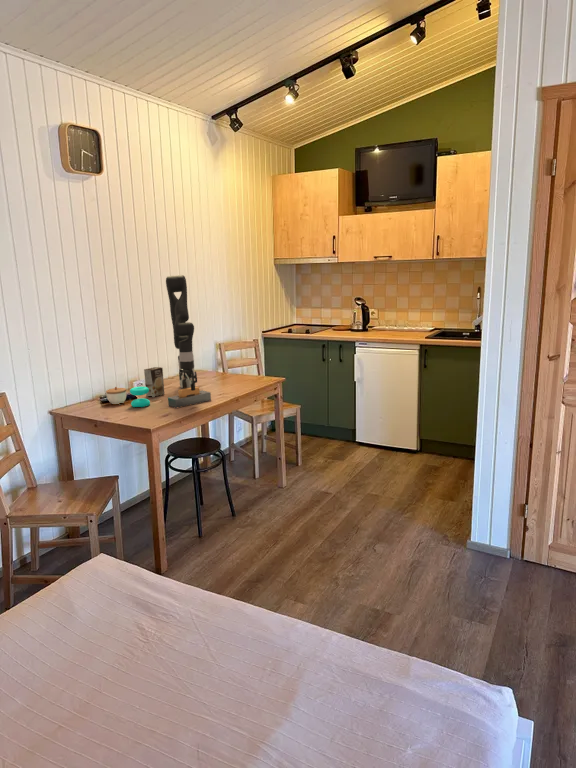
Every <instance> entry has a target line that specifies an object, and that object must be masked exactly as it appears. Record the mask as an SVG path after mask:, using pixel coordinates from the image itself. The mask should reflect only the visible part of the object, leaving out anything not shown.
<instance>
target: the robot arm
mask: <svg viewBox="0 0 576 768" xmlns="http://www.w3.org/2000/svg"><path fill="white" fill-rule="evenodd" d="M165 285H166V286H165V287H166V291H167V295H168V296H167V297H168V301H169V308H170V310H169V311H170V317H171V325H172V330H173V343H174V347H175V349H177V350H178V356H177V363H178V378H179V380H178V381H179V387H180V389H186V388H191V390H192V391H194V390H195V387H196V383H198V377H197V376H198V374H197V371H195V359H194V352H193V351H194V350H193V338H194V332H195V325H194V323H193V322H191V321H190V322H189V319H190V315H189V309H188V286H187V278H186V276H185V275H183V274H177V275H169V276H166V278H165ZM175 293H180V296H179V297H177V296H176V294H175Z"/></svg>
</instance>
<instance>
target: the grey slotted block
mask: <svg viewBox="0 0 576 768" xmlns="http://www.w3.org/2000/svg"><path fill="white" fill-rule="evenodd" d="M199 392H200V394H197V395H193V394H191V395H187V397H183V398H181V397H179V394H178V395H174V396H170V397H169V396H168V397H167V403H168V405H169V406H168V407H171V406H172V407H171V408H174V407H175V409H178V408H177V407H179V408H182V407H181V406H183V407H186V405H188V406H191V405H190V404H192V405H197V404H201V403H205V401H206V402H209V400H210V401H212V397H211V395H212V394H211V393H212V392H210V391H207V390H203V389H202V390H199ZM200 402H201V403H200ZM196 403H197V404H196Z"/></svg>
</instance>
